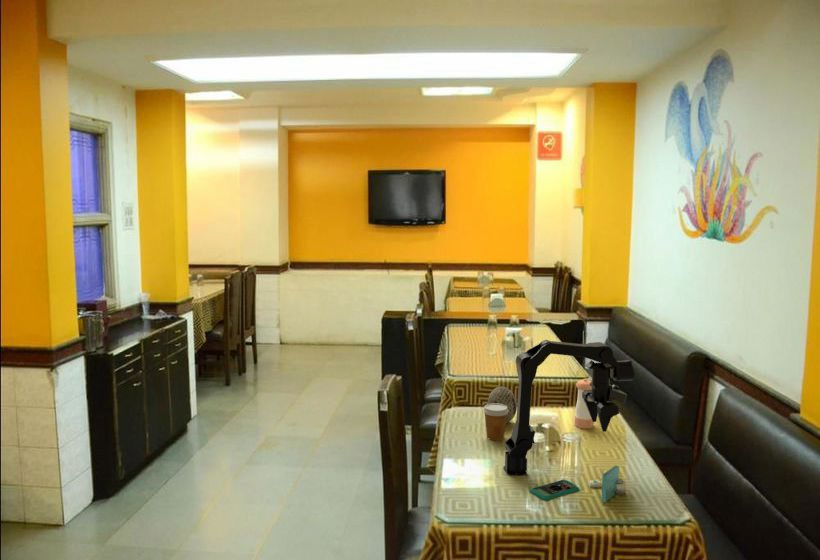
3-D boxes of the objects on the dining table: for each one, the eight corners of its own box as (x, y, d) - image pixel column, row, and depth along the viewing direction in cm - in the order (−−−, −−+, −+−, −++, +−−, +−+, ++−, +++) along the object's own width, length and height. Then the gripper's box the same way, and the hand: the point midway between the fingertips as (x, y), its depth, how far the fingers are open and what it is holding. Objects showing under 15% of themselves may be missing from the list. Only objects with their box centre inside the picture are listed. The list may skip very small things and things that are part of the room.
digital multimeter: (581, 495, 203) (581, 486, 203) (544, 506, 196) (544, 496, 196) (564, 486, 210) (564, 477, 209) (528, 496, 202) (528, 487, 202)
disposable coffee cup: (512, 436, 252) (512, 405, 250) (501, 443, 244) (502, 412, 242) (489, 431, 257) (489, 401, 255) (478, 438, 249) (478, 408, 247)
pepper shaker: (595, 428, 260) (597, 381, 257) (576, 428, 260) (578, 381, 257) (590, 422, 267) (592, 376, 264) (572, 422, 267) (574, 376, 265)
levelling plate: (601, 506, 195) (602, 493, 194) (586, 486, 208) (586, 474, 207) (634, 505, 195) (635, 492, 195) (616, 485, 209) (617, 473, 208)
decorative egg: (508, 429, 259) (509, 392, 257) (482, 424, 265) (482, 387, 263) (521, 421, 268) (521, 385, 266) (494, 416, 275) (495, 381, 273)
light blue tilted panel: (613, 486, 205) (614, 460, 204) (627, 490, 202) (628, 464, 201) (596, 500, 196) (597, 473, 195) (610, 505, 193) (611, 477, 192)
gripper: (636, 388, 209) (634, 435, 211) (613, 373, 228) (612, 416, 230) (601, 389, 209) (600, 437, 211) (582, 373, 227) (580, 417, 229)
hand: (599, 426), depth 220 cm, fingers open, 9 cm apart
